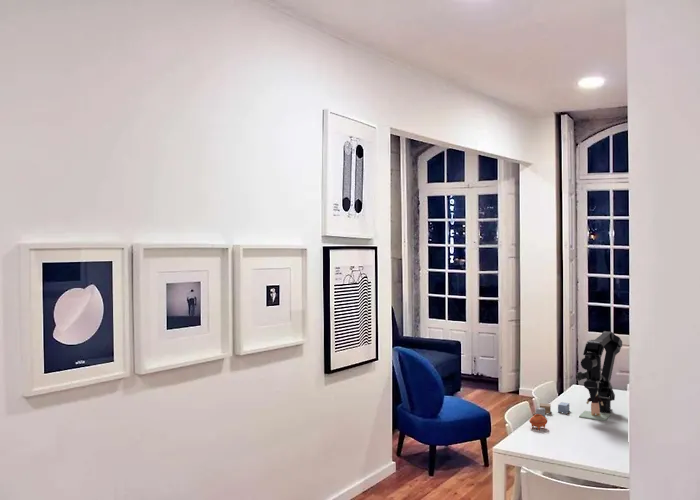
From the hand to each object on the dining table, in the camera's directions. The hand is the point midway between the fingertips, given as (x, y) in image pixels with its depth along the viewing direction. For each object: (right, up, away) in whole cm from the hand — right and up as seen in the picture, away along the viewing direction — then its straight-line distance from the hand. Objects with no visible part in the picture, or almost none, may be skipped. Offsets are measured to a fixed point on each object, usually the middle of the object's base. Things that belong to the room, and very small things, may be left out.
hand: (594, 398), depth 303 cm
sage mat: (0, -9, 0) cm, 9 cm away
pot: (-33, -9, -19) cm, 40 cm away
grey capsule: (-27, -9, 0) cm, 28 cm away
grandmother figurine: (0, -8, 0) cm, 8 cm away
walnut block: (-22, -9, +7) cm, 25 cm away
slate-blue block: (-12, -9, +9) cm, 17 cm away
